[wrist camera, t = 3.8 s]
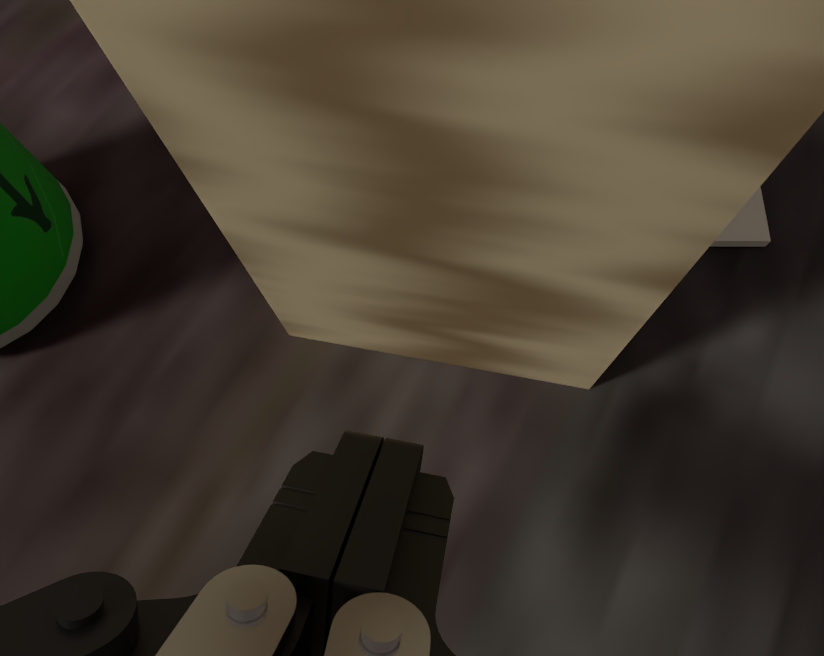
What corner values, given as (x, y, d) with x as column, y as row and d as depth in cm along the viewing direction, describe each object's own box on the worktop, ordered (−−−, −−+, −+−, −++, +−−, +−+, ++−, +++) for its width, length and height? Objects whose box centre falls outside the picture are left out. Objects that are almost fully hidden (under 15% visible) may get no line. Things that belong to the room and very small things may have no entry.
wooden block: (597, 315, 21) (903, -172, 7) (589, 389, 20) (917, -2, 6) (308, 267, 22) (83, -240, 8) (289, 335, 21) (3, -103, 7)
